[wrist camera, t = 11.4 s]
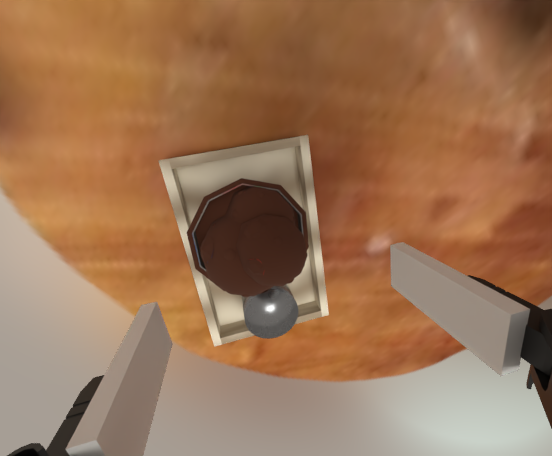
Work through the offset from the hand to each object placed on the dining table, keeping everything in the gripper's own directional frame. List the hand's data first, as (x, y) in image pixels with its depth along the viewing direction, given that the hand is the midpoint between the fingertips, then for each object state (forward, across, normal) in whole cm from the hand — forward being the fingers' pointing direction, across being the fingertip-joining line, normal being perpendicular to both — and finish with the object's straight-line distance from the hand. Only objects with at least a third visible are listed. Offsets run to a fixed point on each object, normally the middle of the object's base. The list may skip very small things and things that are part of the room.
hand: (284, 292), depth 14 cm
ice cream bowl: (+19, -1, 0) cm, 19 cm away
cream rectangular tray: (+20, 0, -4) cm, 20 cm away
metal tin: (+19, 0, -11) cm, 22 cm away
